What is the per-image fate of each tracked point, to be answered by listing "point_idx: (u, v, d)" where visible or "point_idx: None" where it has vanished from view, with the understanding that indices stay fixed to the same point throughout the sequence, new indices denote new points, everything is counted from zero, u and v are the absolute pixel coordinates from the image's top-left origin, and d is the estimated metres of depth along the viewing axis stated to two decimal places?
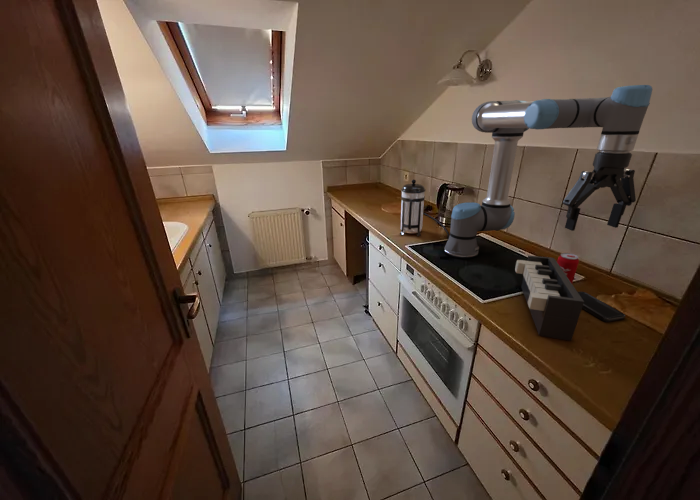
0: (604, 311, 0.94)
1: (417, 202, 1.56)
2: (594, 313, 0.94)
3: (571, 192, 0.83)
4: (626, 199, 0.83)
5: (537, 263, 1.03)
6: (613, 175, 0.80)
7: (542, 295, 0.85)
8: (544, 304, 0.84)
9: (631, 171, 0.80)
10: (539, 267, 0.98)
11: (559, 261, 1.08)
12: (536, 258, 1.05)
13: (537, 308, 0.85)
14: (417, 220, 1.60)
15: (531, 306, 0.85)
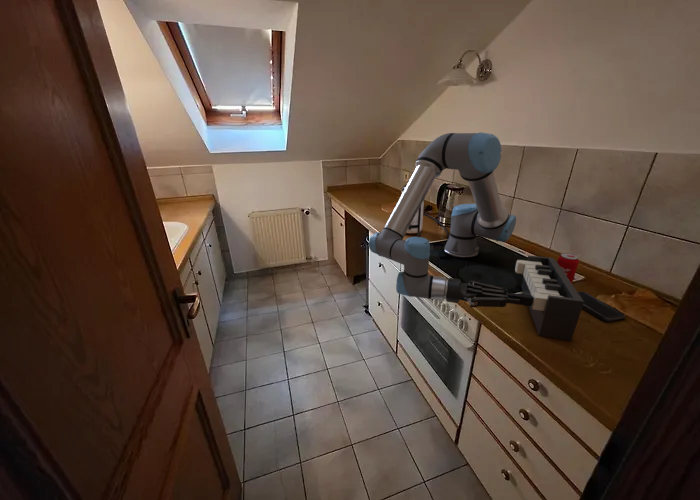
0: (604, 311, 0.94)
1: None
2: (594, 313, 0.94)
3: None
4: None
5: (537, 263, 1.03)
6: None
7: (545, 295, 0.84)
8: None
9: None
10: (539, 267, 0.98)
11: (559, 261, 1.08)
12: (536, 258, 1.05)
13: (540, 308, 0.84)
14: (417, 220, 1.60)
15: (534, 306, 0.85)
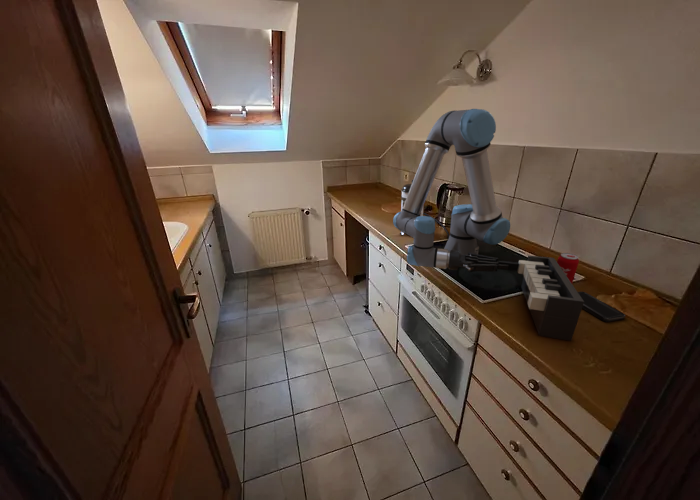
0: (604, 311, 0.94)
1: None
2: (594, 313, 0.94)
3: None
4: None
5: (539, 263, 1.03)
6: None
7: (542, 295, 0.85)
8: (544, 304, 0.84)
9: None
10: (539, 267, 0.98)
11: (559, 261, 1.08)
12: (536, 258, 1.05)
13: (537, 308, 0.85)
14: None
15: (531, 306, 0.85)
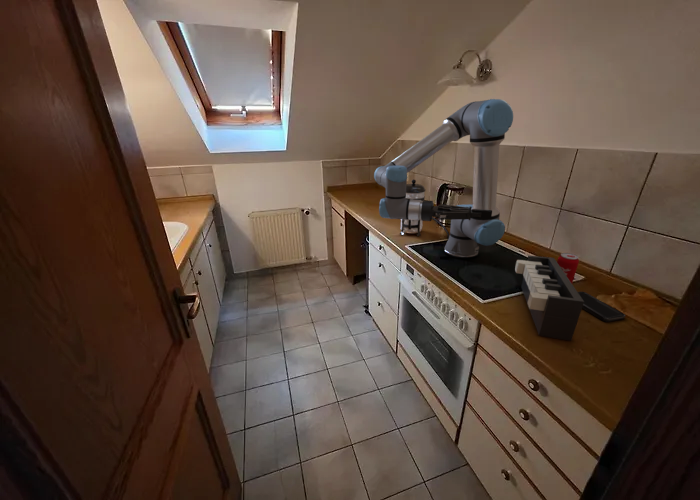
0: (604, 311, 0.94)
1: None
2: (594, 313, 0.94)
3: None
4: None
5: (537, 263, 1.03)
6: None
7: (542, 295, 0.85)
8: (544, 304, 0.84)
9: None
10: (539, 267, 0.98)
11: (559, 261, 1.08)
12: (536, 258, 1.05)
13: (537, 308, 0.85)
14: (417, 220, 1.60)
15: (531, 306, 0.85)
